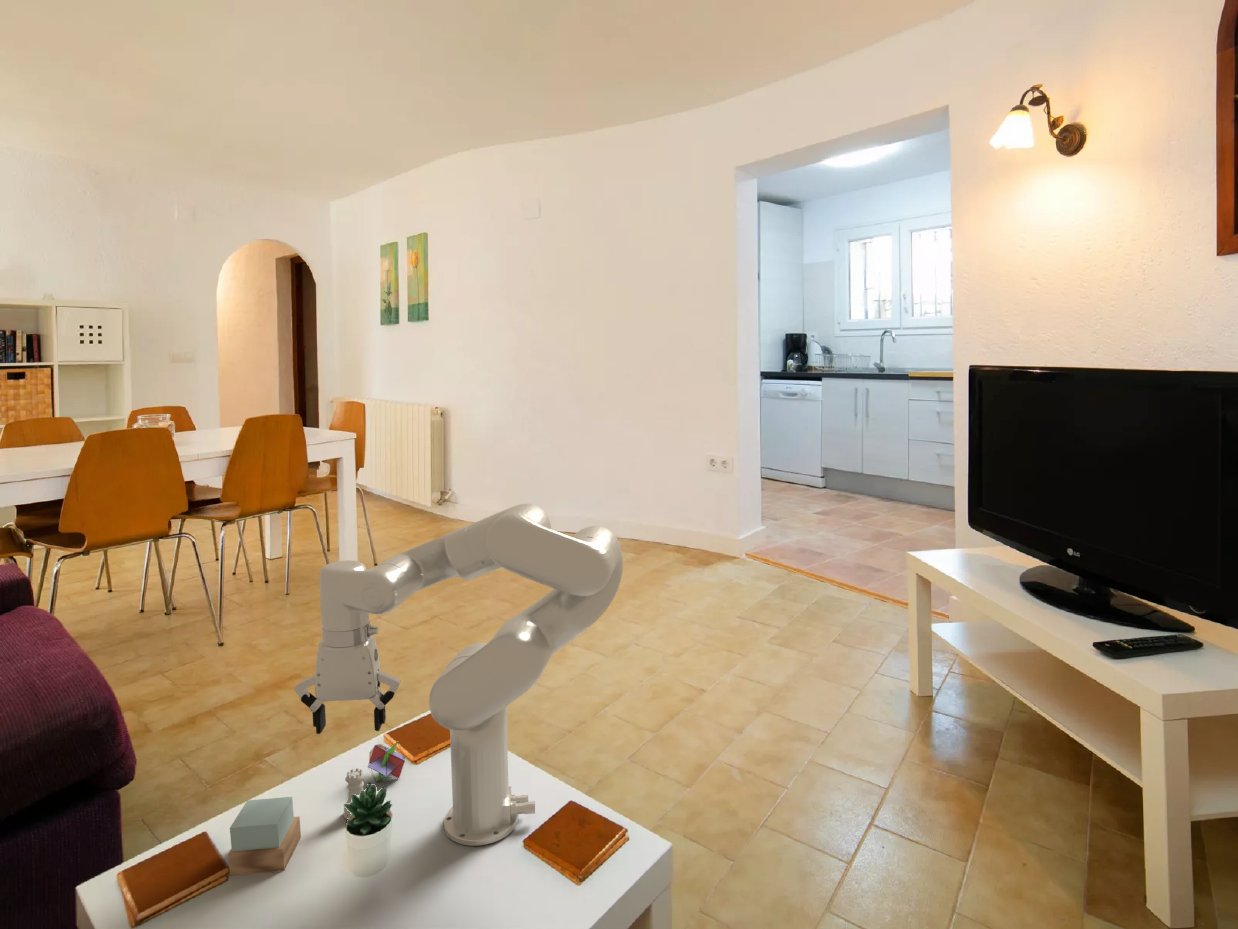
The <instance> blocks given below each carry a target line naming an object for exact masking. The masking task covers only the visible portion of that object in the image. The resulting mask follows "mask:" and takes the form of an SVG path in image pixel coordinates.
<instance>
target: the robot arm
mask: <svg viewBox="0 0 1238 929" xmlns="http://www.w3.org/2000/svg"><path fill="white" fill-rule="evenodd" d="M551 525H552V524H551V520H550V519H549V516H548V514H547V513H546V512H545V510H543V509H542V508H541V507H540V506H538V505H536V504H531V503H521V504H517V505H514V506H511V507H508V508H506V509H504V510H501V511H500V512H496V513H494V514H492V515H489V516H486V517H485V518H483V519H480V520H478V521H475V522H473V523H470V524H468V525H466V526H463V527H460V528H458V529H455V530H453V531H451V532H448V533H446V534H444V535H442V536H440V537H437V538H434V539H432V540H429V541H427V542H424V543H421V544H419V545H417V546H415V547H412V548H410V549H408V550H405V551H402V552H400V553H397V554H395V555H394V556H392V557H390V558H388V559H387V560H385V561H383V562H381V563H380V564H379V565H377V566H373V567H371V568H369V569H367V567H366V565H365V564H364V563H362V562H361V561H358V560H357V561H356V560H338V561H333V562H329V563H328V564H325V565H324V566H323V567H322V568H321V569H320V572H319V579H318V581H319V595H320V596H319V598H320V613H321V614H320V617H321V620H320V621H321V640H320V642H319V644H318V647H317V653H316V661H315V671H314V674H313V675H311V676H308V677H307V678H305V679H303V680H301V681H300V682H297V683H296V685H295V686H294V691H295V693H296V694H297V695H298V697H299V698H300V701H301V703H302V704H304V705H305V706H306V707H308V709H309V711H310V712H311V713H312V726H313V727H314V728H315V734H316V735H320V734H322V732H323V731H324V729H325V727H326V726H327V724H326V723H327V720H326V705H325V704H324V702H344V701H347V702H348V701H350V702H351V701H366V700H369V701H370V702H371V703H372V704H373V705H374V706H375V707H374V710H373V717H374V718H373V722H374V731H376V732H380V730H381V728H382V725H383V724H385V723H386V719H387V718H386V717H387V715H386V705H387V704H388V703H389V702H390V701H391V700H392V699H393V698H394V696H395V695H396V692H397V691H398V689H399V686H400V684H401V682H402V681H401V679H400V678H397V677H395V676H393V675H390V674H389V673H386V672H383V671H382V670H381V662H380V657H379V650H378V646H377V641H376V638H375V637H374V635H378V633H379V627H378V626H374V625H372V624H371V621H370V614H371V615H386V614H389V613H391V612H392V611H394V610H395V609H397V608H398V607H399V606H400V605H402V604H403V603H404V602H405V601H406V600H408V599H409V598H410V597H411V596H413V595H414V594H415V593H418V592H420V591H422V590H423V589H426V588H429V587H431V586H433V585H436V584H438V583H441V582H443V581H446V580H449V579H452V578H460V579H462V580H465V581H471V580H474V579H477V578H479V577H481V576H484V575H486V574H489V573H491V572H493V571H495V570H499V569H501V568H503V569H504V570H506V571H507V572H511V573H513V574H514V575H517V576H519V577H522V578H525V579H528V580H529V581H533V582H535V583H539V584H541V585H544V586H546V587H548V588H552V589H551V590H550V591H548V593H546V594H545V595H544V596H542V597H541V598H539V599H538V600H537V601H535V602H533V604H531V605H529V606H528V607H527V608H525V609H524V610H522V611H520V612H519V613H517V614H516V615H514V616H512V617H510V618H509V619H508V620H507V621H506V622H504V624H502V626H500V628H499V629H498V631H497V632H496V633H495V634H494V636H492V638H491V639H490V640H489V642H475V643H471V644H470V645H467V646H466V647H464V648H463V649H461V650H460V651H459V652H458V653H457V654H456V655H455V656H454V658H452V660H451V661H450V662H449V663H448V664H447V666H446V667H445V669H444V670H443V671H442V672H441V673H440V675H439V676H438V677H437V679H436V680H435V682H434V683H433V685H432V687H431V689H430V691H429V692H430V693H429V696H428V697H429V698H428V706H429V711H430V714H431V716H432V718H433V720H434V721H435V722H436V723H437V724H438V725H439V726H441V727H443V728H444V729H446V730H449V734H450V736H449V737H450V741H449V742H450V763H451V764H450V766H451V769H450V770H451V771H450V772H451V792H452V807H451V808H450V809H449V810H448V811H447V812H446V813H445V817H444V819H443V820H444V822H443V827H444V829H443V830H444V832H445V834H446V836H447V837H448V838H449V839H450V840H451V841H454V842H455V843H457V844H460V845H464V846H471V847H475V846H485V845H489V844H492V843H496V842H498V841H500V840H502V839H504V838H506V837H507V836H508V835H509V834H512V832H513V831H514V830H515V828H516V827H517V825H518V823H519V822H518V821H519V815H534V814H536V801H535V800H534V801H533V800H532V801H529V794H524V795H523V794H522V795H515V794H512V786H509V759H508V758H509V755H508V754H509V753H508V752H509V750H508V706H509V705H510V704H512V703H513V702H515V701H516V700H518V699H519V698H520V697H522V696H523V695H524V694H526V693H527V692H528V691H529V690H531V689H532V688H533V686H535V685H536V683H537V682H538V681H539V680H540V678H541V677H542V675H543V673H544V671H545V669H546V667H547V666H548V663H549V662H550V660H551V659H552V657H554V655H555V654H556V653H558V651H560V650H561V649H562V648H564V647H565V646H566V645H568V644H569V643H571V642H572V641H573V640H574V639H576V638H577V637H579V636H580V635H581V634H582V633H583V632H585V631H586V630H587V629H589V628H590V627H591V626H592V625H594V624H595V623H596V622H597V621H598V620H599V619H600V618H601V617H602V616H603V615H604V613H605V612H606V611H607V610H608V609H609V607H610V606H611V604H612V602H613V600H614V598H615V597H616V595H617V592H618V590H619V588H620V585H621V580H622V577H623V569H624V566H623V565H624V561H623V560H624V558H623V552H622V547H621V544H620V542H619V540H618V538H617V536H616V535H615V533H613V531H611V530H610V529H608V528H607V527H604V526H600V525H592V526H587V527H584V528H582V529H580V530H579V531H577V532H575V533H574V535H572V536H569V535H567V534H565V533H561V532H559V531H556V530H553V529H552V526H551ZM382 684H385V685H387V686H388V687H389V689H388V690H387V691H386V692H385V693H384V692H383V691H382V690H381V689H380V688H381V685H382ZM313 686H314V690H315V692H314V693H315V695H313V693H311V692H309V690H308V688H309V687H313Z"/></svg>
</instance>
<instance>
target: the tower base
mask: <svg viewBox="0 0 1238 929" xmlns="http://www.w3.org/2000/svg"><path fill="white" fill-rule="evenodd" d="M301 838H302V834H301V820H300V816H294V820H293V821H292V823H291V825H290V827H289V829H288V831H287V833H286V835H285V837H284V839H283V841H282V843H281V845H280V847H276V848H265V849H255V850H244V851H233V852H232V848H230V850H229V851H228V865H229V874H230V876H236V875H237V876H238V875H239V876H240V875H248V874H249V875H250V874H261V873H271V872H272V873H273V872H274V873H275V872H282V871H283V872H284V871H286V868H287V866H288V864H289V863H290V860H291V858H292V856H293V853H294V852H295V850H296V848H297V846H298V844H299V843H300V842H299V841H301Z"/></svg>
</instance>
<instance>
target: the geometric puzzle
mask: <svg viewBox="0 0 1238 929" xmlns="http://www.w3.org/2000/svg"><path fill="white" fill-rule="evenodd" d="M385 744H388V742H385ZM397 745H398V746H400V743H398V741H397V742H396V741H395V742H394V741H393V742H392V745H390V746H388V747H386V746H385V745H384V744H381V743H378V744H374V746H373V747H372V748H371V750H370V751H369V752H368V753H369V755H368V758H369V759H368V764H367V768H368V769H370V771H371V772H370V773H371V776H372V777H373V779H374V780H375V783H379V782H381V783H382V782H383V780H384V779H385V778H388V777H389V778H391V779H394V778H395V780H399V779H400V777H401V774H402V771H403V768H404V765H405V763H406V757H405V755H404V753H401V754H402V755H401V754H400V753H398V752H396V748H397ZM390 747H391V748H390ZM399 750H400V751H402V748H399ZM373 771H375V772H377V773H378V775H377V778H375V776H374V772H373ZM389 775H391V776H389ZM383 776H384V777H383ZM392 776H393V777H392ZM398 778H399V779H398ZM387 781H389V780H386V782H387Z"/></svg>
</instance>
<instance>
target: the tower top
mask: <svg viewBox="0 0 1238 929" xmlns="http://www.w3.org/2000/svg"><path fill="white" fill-rule="evenodd" d="M294 817H295V816H294V804H293V796H285V797H272V798H260V799H259V798H258V799H248V800H246V801H245V803H244V804H243V807H241V809H240V811H239V813H238V814H237V816H236V817H235V819H234V820H233V822H232V824H231V825H230V827H229V833H230V834H229V835H230V845H231V848H230V849H232V852H233V851H244V850H255V849H265V848H276V847H280V845H281V843H282V841H283V839H284V837H285V835H286V833H287V831H288V829H289V827H290V825H291V823H292V821H293V820H294Z"/></svg>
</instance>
